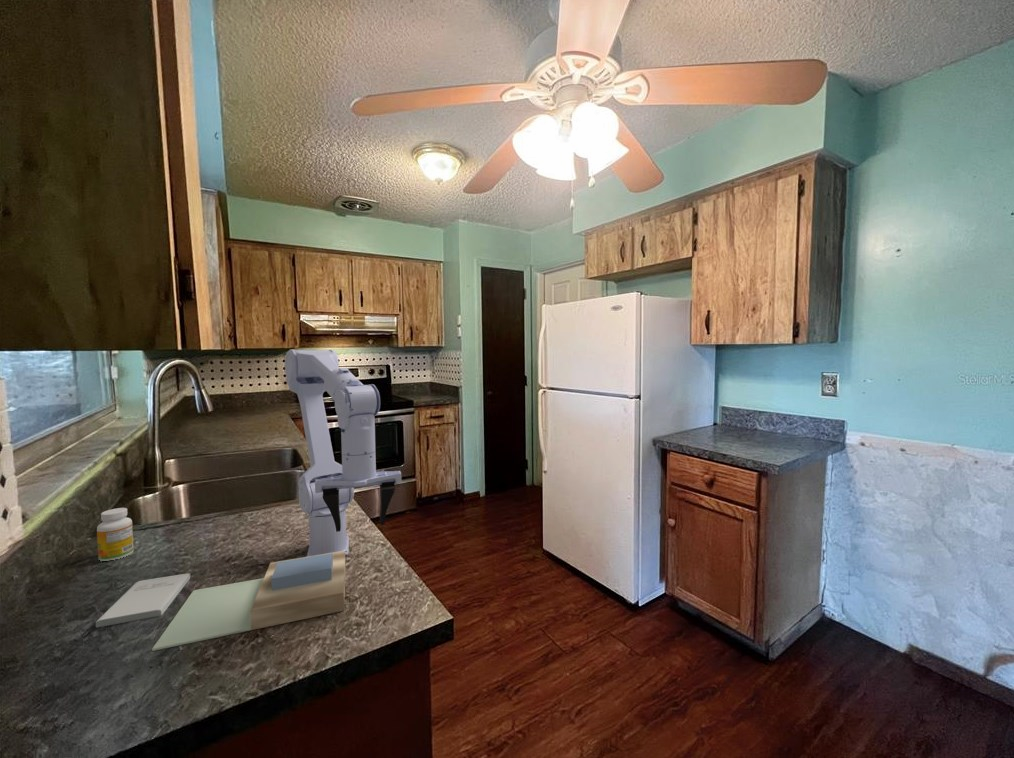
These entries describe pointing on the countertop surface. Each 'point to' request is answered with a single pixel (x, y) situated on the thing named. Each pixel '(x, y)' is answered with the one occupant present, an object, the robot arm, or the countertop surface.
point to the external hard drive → (144, 600)
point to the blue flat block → (302, 571)
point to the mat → (212, 614)
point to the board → (299, 597)
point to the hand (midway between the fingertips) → (360, 526)
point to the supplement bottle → (114, 535)
